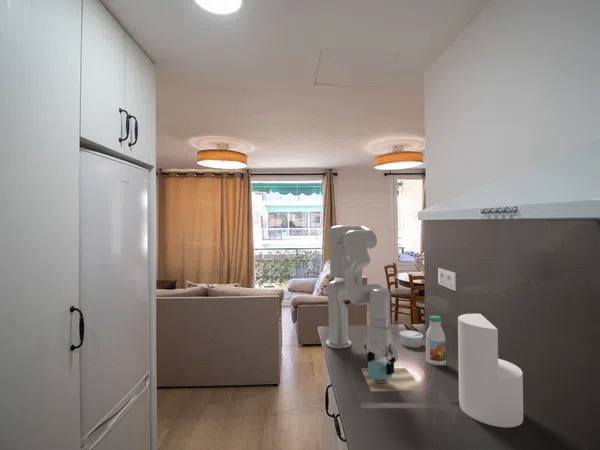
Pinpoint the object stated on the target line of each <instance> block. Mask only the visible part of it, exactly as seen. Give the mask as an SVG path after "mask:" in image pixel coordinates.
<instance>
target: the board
mask: <svg viewBox="0 0 600 450" xmlns="http://www.w3.org/2000/svg"><path fill="white" fill-rule="evenodd" d="M360 370H361V372H362V374H363V376H364V379H365V380H366V383H367V385H368V388H369V389H370V391H371V392H421V391H422V392H423V391H424V389H422V387H421V386H420V385H419V384H418V382H417V381H416V379H415V378H414V377H413V376H412V374H411V373H410V372H409V371H408V369H407V368H406V367H394V373H393V374H392V377H389V378H386V379H387V382H386V384H377V383H375V382H374V377H372V376H371V375H369V374H368V367H365V368H364V367H362V368H360Z"/></svg>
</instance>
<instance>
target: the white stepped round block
mask: <svg viewBox="0 0 600 450" xmlns="http://www.w3.org/2000/svg"><path fill="white" fill-rule="evenodd" d="M498 333H499V329H498V328H497V327H496V326H495V325H494V324H492V323H491V321H489V320H488V319H487V318H486V317H485V316H484V315H482V313H465V314H461V315H459V316H457V335H458V336H457V343H458V344H457V345H458V349H457V350H458V352H457V354H458V356H457V357H458V359H457V360H458V404H459V408H460V409H461V411H462V412H463V413H465V414H466V415H467V416H468V417H470V418H472V419H474V420H475V421H478V422H480V423H482V424H486V425H489V426H492V427H498V428H515V427H516V428H517V427H518V426H520V425H522V423H523V422H524V387H523V386H524V383H523V382H524V381H523V380H524V379H523V377H524V376H523V371H522V369H521V368H520V367H518V365H516V364H514V363H512V362H510V361H507V360H504V359H501V358H499V335H498Z"/></svg>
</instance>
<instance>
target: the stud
mask: <svg viewBox="0 0 600 450" xmlns="http://www.w3.org/2000/svg"><path fill="white" fill-rule="evenodd" d="M374 382H375V383H377V384H386V382H387V379H383V380H381V381H379V380H378V379H376V378H374Z"/></svg>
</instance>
